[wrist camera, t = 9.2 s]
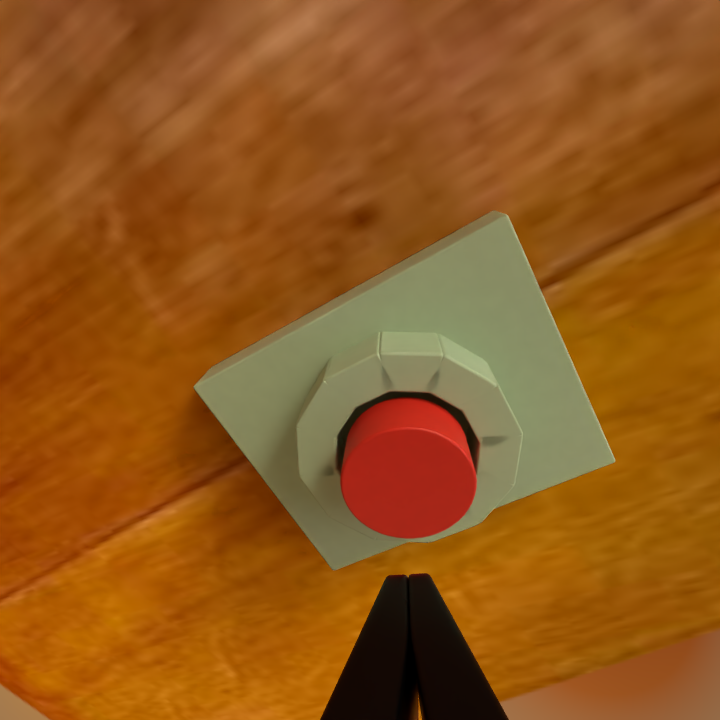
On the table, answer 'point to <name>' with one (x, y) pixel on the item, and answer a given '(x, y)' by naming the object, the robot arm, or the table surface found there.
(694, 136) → the table surface
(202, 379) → the button box
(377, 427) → the button
